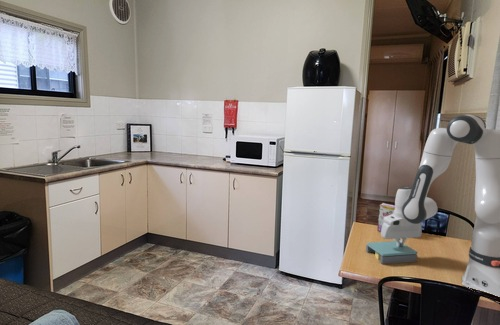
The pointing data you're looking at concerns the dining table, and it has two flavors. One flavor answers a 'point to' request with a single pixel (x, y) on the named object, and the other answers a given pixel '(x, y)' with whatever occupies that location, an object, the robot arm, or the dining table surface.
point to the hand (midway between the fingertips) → (399, 245)
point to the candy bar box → (384, 213)
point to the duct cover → (390, 248)
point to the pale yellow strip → (377, 255)
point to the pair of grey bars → (394, 257)
